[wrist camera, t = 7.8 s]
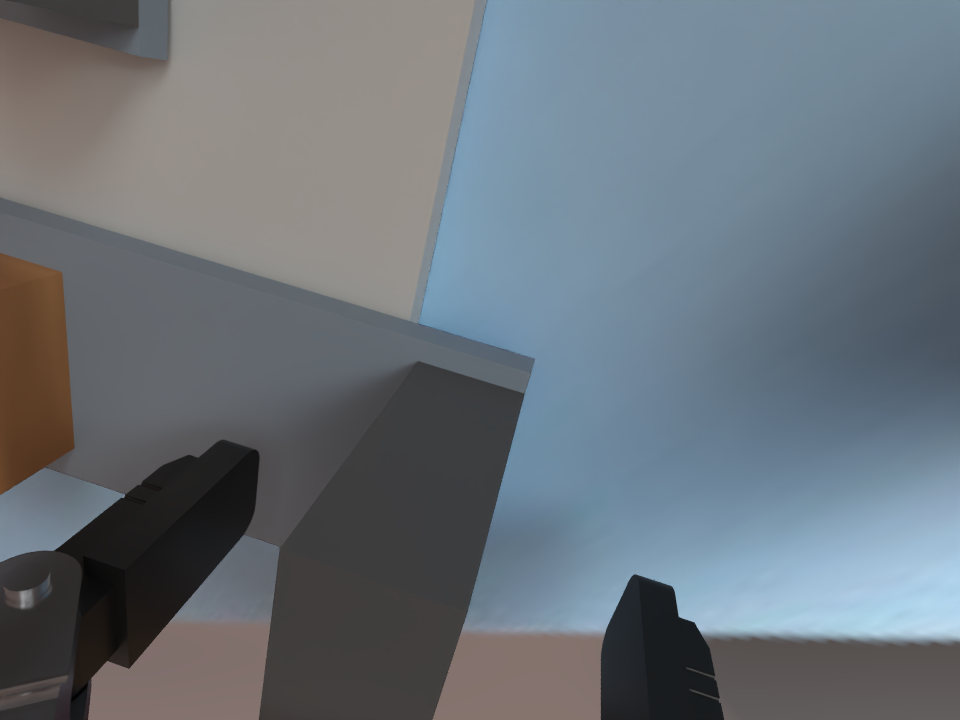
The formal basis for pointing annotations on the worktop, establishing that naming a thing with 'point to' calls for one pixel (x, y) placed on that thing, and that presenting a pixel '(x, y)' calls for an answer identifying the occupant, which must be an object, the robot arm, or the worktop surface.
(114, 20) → the strip empty
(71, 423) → the cube
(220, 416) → the strip with cube
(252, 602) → the worktop surface
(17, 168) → the lane board
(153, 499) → the robot arm
